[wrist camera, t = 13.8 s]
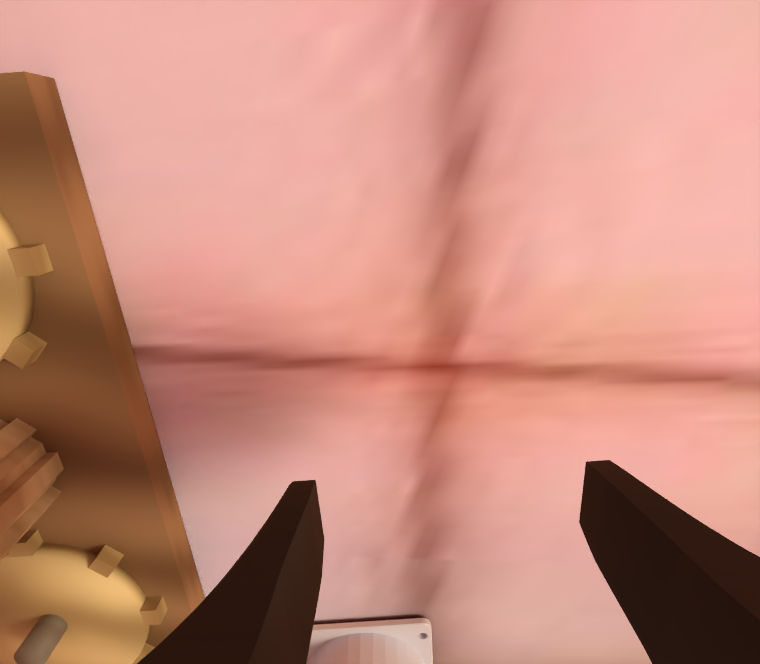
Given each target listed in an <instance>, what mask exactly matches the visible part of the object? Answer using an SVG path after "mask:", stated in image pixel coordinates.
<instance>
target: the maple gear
mask: <svg viewBox="0 0 760 664" xmlns="http://www.w3.org/2000/svg"><path fill="white" fill-rule="evenodd" d="M36 430H37V429H35V428H33V427H32V426H30V425H28V424H26V423H25V422H23V421H21V420H20V419H18V418H16V419H15V420H13V421H12V422H11V423H9V424H8V423H6V422H5V421H3V420H1V419H0V560H1V559H2V558H3V557H4V556H5V555H6V554H7V553H8V552H9V551H10V550H11V548H12V547H13V546H14V545H15V544H16V543H17V542H18V541H19V540H20V539H21V537H22V536H23V535H24V534H25V533H26V532H27V531H28V530H29V529H30V528H31V526H32V525H33V524H34V523H35V522H36V521H37V520H38V519H39V518H40V517H41V515H42V514H43V513H44V512H45V511H46V510H47V509H48V508H49V507H50V506H51V504H52V503H53V502H54V501H55V499H56V498H57V497H58V496H59V494H60V493H61V492H62V491H60V490H58V489H56V488H54V487H53V486H52V484H53V483H54V482H55V480H56V477H57V476H58V475H59V474H60V473H61V472H62V471H63V469H64V468H63V465H62V463H61V460H60V458H59V455H58V452H54V453H46V451H45V449H44V446H43V444H42V443H41V442H39V441H37V440H36V439H34V438H32V436H33V434H34V433H35V431H36Z"/></svg>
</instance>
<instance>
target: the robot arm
mask: <svg viewBox="0 0 760 664" xmlns="http://www.w3.org/2000/svg"><path fill="white" fill-rule="evenodd" d="M579 523H580V525H581V528H582V530H583V533H584V535H585V538H586V540H587V543H588V545H589V548H590V550H591V552H592V554H593V557H594V559H595V561H596V563H597V565H598V567H599V569H600V570H601V572H602V574H603V576H604V578H605V579H606V581H607V583H608V585H609V587H610V588H611V590H612V592H613V594H614V595H615V597H616V599H617V601H618V602H619V604H620V606H621V608H622V610H623V611H624V613H625V615H626V617H627V618H628V620H629V622H630V624H631V625H632V627H633V629H634V631H635V632H636V634H637V636H638V638H639V640H640V641H641V643H642V645H643V647H644V648H645V650H646V652H647V654H648V656H649V658H650V660H651V662H652V664H760V557H759V556H757V555H755V554H753V553H751V552H749V551H748V550H746V549H744V548H742V547H741V546H739V545H737V544H735V543H734V542H732V541H730V540H729V539H727V538H726V537H724V536H722V535H721V534H719V533H717V532H716V531H714V530H713V529H711V528H709V527H708V526H706V525H704V524H703V523H701V522H700V521H698V520H697V519H695V518H694V517H692V516H690V515H689V514H687V513H686V512H684V511H683V510H681V509H680V508H678V507H677V506H675V505H674V504H672V503H671V502H669V501H668V500H667V499H665V498H664V497H662V496H661V495H659V494H658V493H656V492H655V491H654V490H652V489H651V488H649V487H648V486H646V485H645V484H644V483H642V482H641V481H639V480H638V479H636V478H635V477H634V476H632V475H631V474H629V473H628V472H626V471H625V470H623V469H622V468H621V467H619V466H618V465H616V464H614V463H613V462H611V461H610V460H604V461H590V462H586V467H585V476H584V485H583V494H582V503H581V511H580V520H579ZM323 550H324V534H323V528H322V521H321V514H320V508H319V501H318V494H317V487H316V481H315V480H308V481H294V482H292V483H291V484H290V485H289V486H288V488H287V490H286V491H285V493H284V495H283V496H282V498H281V499H280V501H279V503H278V504H277V506H276V507H275V509H274V510H273V512H272V513H271V515H270V516H269V518H268V519H267V521H266V522H265V524H264V525H263V527H262V528H261V529H260V531H259V532H258V534H257V535H256V536H255V538H254V539H253V541H252V542H251V543H250V545H249V546H248V547H247V549H246V550H245V551H244V553H243V554H242V555H241V556H240V558H239V559H238V560H237V561H236V563H235V564H234V565H233V567H232V568H231V569H230V570H229V572H228V573H227V574H226V575H225V576H224V578H223V579H222V580H221V581H220V582H219V583H218V585H217V586H216V587H215V588H214V589H213V590H212V591H211V592H210V594H209V595H208V596H207V597H206V598H205V599H204V600H203V601H202V602H201V603H200V604H199V605H198V607H197V608H196V609H195V610H194V611H193V612H192V613H191V614H190V615H189V616H188V617H187V618H186V619H185V620H184V621H183V622H182V623H181V624H180V625H179V626H178V627H177V628H176V629H175V630H174V631H173V632H171V633H170V634H169V635H168V636H167V637H166V638H165V639H164V640H163V641H162V642H161V643H160V644H159V645H158V646H156V647H155V648H154V649H153V650H152V651H151V652H150V653H148V654H147V655H146V656H145V657H144V658H143V659H141V660H140V661H139V662H138V663H137V664H433V655H432V631H431V623H430V621H429V620H428V619H426V618H411V619H396V620H380V621H364V622H349V623H333V624H318V625H313V624H314V619H315V613H316V607H317V602H318V596H319V590H320V584H321V578H322V566H323Z"/></svg>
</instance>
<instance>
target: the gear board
mask: <svg viewBox="0 0 760 664" xmlns="http://www.w3.org/2000/svg"><path fill="white" fill-rule="evenodd" d="M16 418H18V419H20V420H21V421H23V422H25V423H26V424H28V425H30V426H32V427H33V428H35V429H37V430H36V431H35V433H34V434H33V436H32V438H34V439H36V440H37V441H39V442H41V443H42V444H43V446H44V449H45V451H46V453H54V452H58V455H59V458H60V460H61V463H62V465H63V468H64V469H63V471H62V472H61V473H60V474H59V475H58V476H57V477H56V480H55V482H54V483H53V484H52V486H53V487H54V488H56V489H58V490H60V491H62V492H61V493H60V494H59V496H58V497H57V498H56V499H55V501H54V502H53V503H52V504H51V506H50V507H49V508H48V509H47V510H46V511H45V512H44V513H43V514H42V515H41V517H40V518H39V519H38V520H37V521H36V522H35V523H34V524H33V525H32V526H31V528H30V529H29V530H28V531H27V532H26V533H25V534H24V535H23V536H22V537H21V539H20V540H19V541H18V542H17V543H16V544H15V545H14V546H13V547H12V548H11V550H10V551H9V552H8V553H7V554H6V555H5V556H4V557H3V558H2V559H1V560H0V664H137V663H138V662H139V661H140V660H141V659H143V658H144V657H145V656H146V655H147V654H148V653H150V652H151V651H152V650H153V649H154V648H155V647H156V646H158V645H159V644H160V643H161V642H162V641H163V640H164V639H165V638H166V637H167V636H168V635H169V634H170V633H171V632H173V631H174V630H175V629H176V628H177V627H178V626H179V625H180V624H181V623H182V622H183V621H184V620H185V619H186V618H187V617H188V616H189V615H190V614H191V613H192V612H193V611H194V610H195V609H196V608H197V607H198V605H199V604H200V603H201V602H202V601H203V600H204V599H205V597H204V593H203V590H202V586H201V583H200V580H199V576H198V573H197V569H196V566H195V562H194V559H193V555H192V552H191V549H190V545H189V542H188V538H187V535H186V531H185V528H184V524H183V521H182V518H181V514H180V511H179V507H178V504H177V500H176V497H175V493H174V490H173V487H172V483H171V480H170V476H169V473H168V469H167V466H166V462H165V459H164V456H163V452H162V449H161V445H160V442H159V438H158V435H157V431H156V428H155V424H154V421H153V418H152V414H151V411H150V407H149V404H148V400H147V397H146V393H145V390H144V387H143V383H142V380H141V376H140V373H139V369H138V366H137V362H136V359H135V356H134V352H133V349H132V345H131V342H130V338H129V335H128V331H127V328H126V325H125V321H124V318H123V314H122V311H121V307H120V304H119V300H118V297H117V294H116V290H115V287H114V283H113V280H112V276H111V273H110V269H109V266H108V262H107V259H106V256H105V252H104V249H103V245H102V242H101V238H100V235H99V231H98V228H97V225H96V221H95V218H94V214H93V211H92V207H91V204H90V200H89V197H88V194H87V190H86V187H85V183H84V180H83V176H82V173H81V169H80V166H79V163H78V159H77V156H76V152H75V149H74V145H73V142H72V138H71V135H70V132H69V128H68V125H67V121H66V118H65V114H64V111H63V107H62V104H61V100H60V97H59V94H58V90H57V87H56V83H55V80H54V78H49V77H45V76H41V75H37V74H32V73H28V72H14V73H1V74H0V419H1V420H3V421H5V422H6V423H8V424H9V423H11V422H12V421H13V420H15V419H16Z"/></svg>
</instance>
